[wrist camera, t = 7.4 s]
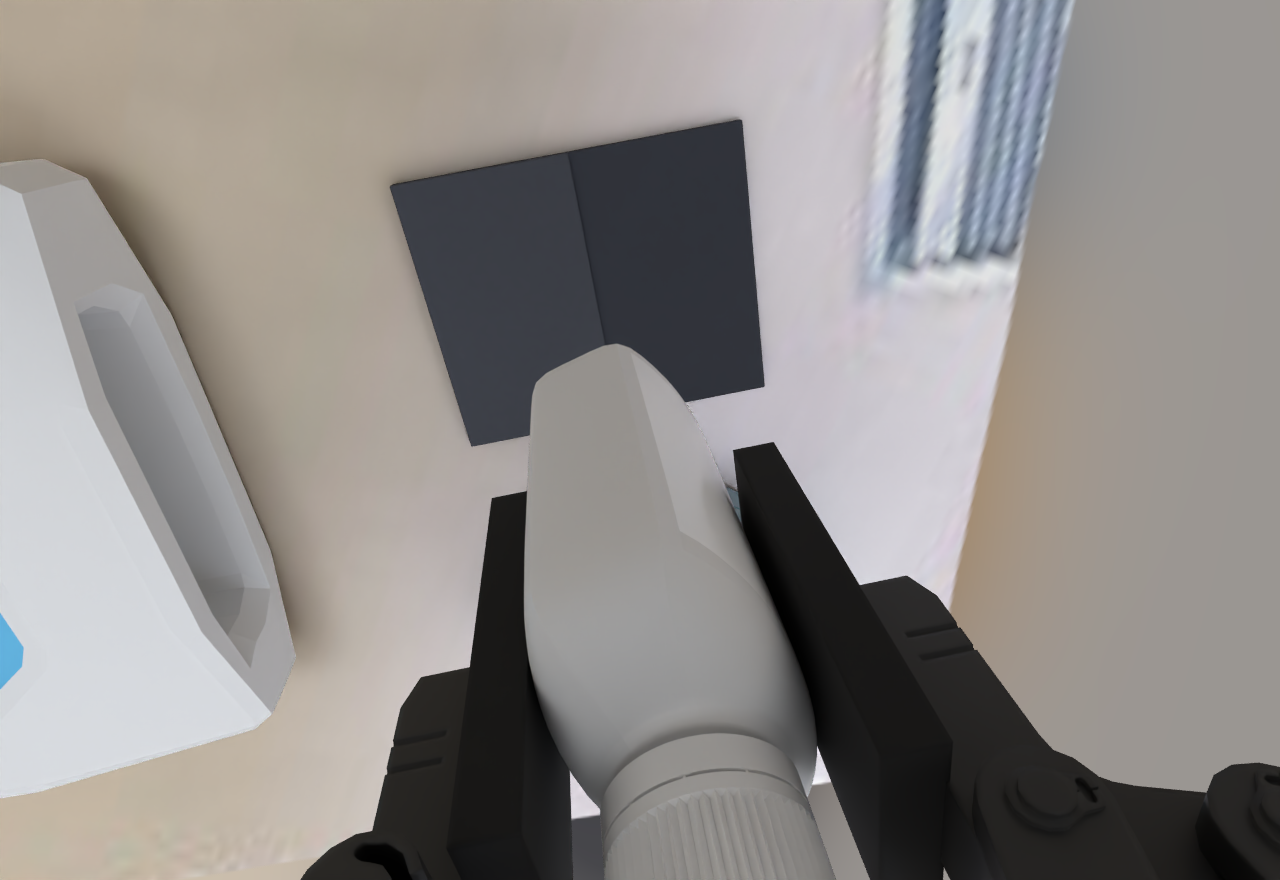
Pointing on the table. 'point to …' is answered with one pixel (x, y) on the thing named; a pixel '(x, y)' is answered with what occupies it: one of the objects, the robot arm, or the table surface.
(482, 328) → the napkin
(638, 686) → the eye dropper bottle
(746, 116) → the table surface
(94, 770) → the document scanner
